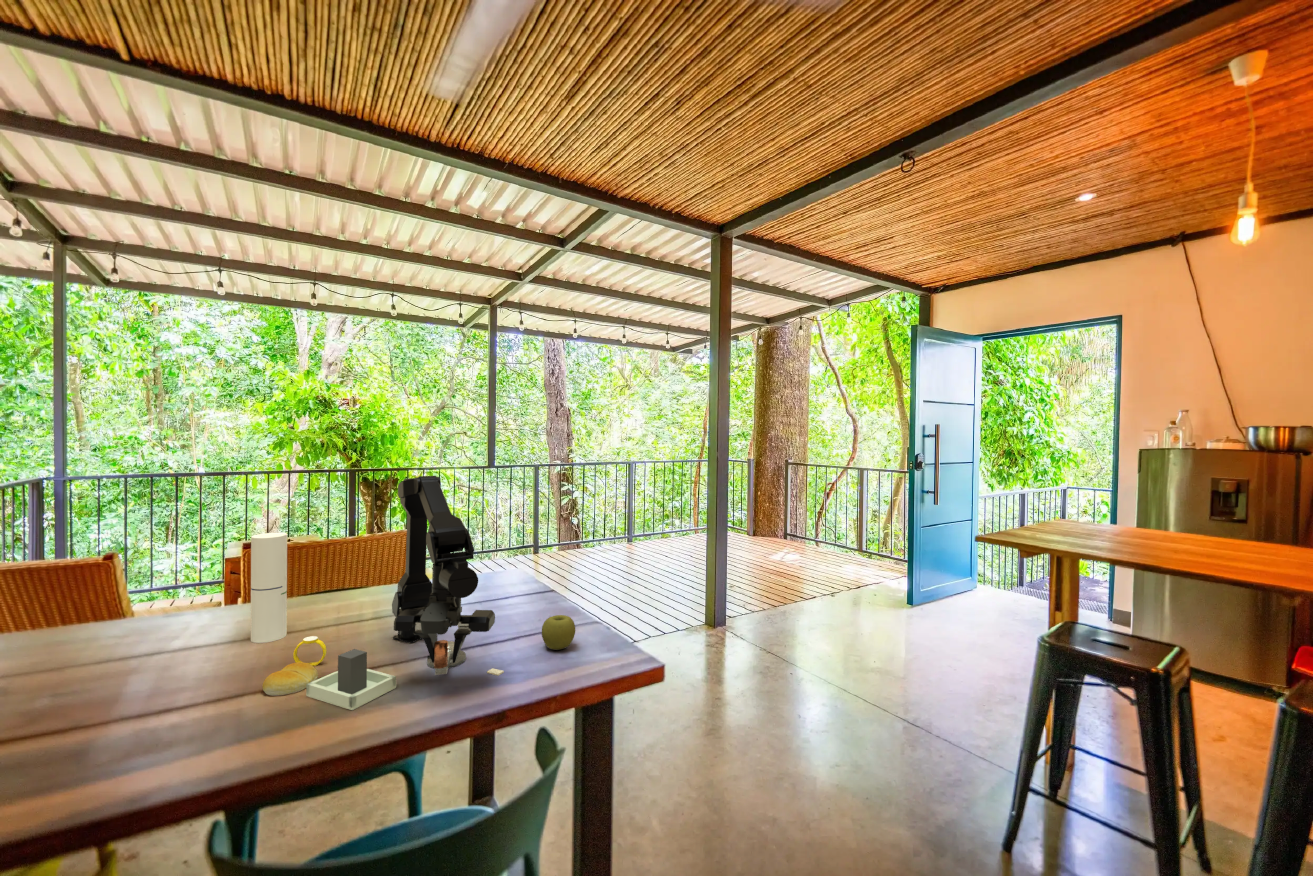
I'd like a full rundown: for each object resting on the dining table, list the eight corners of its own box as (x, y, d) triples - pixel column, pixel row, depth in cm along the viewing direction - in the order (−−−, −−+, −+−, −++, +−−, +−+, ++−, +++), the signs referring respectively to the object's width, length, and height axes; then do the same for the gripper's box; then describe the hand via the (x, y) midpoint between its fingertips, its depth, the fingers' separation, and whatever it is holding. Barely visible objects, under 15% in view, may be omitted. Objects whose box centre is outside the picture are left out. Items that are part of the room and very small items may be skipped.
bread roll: (252, 695, 105) (252, 674, 105) (293, 675, 113) (293, 655, 113) (287, 700, 103) (287, 679, 103) (326, 679, 111) (326, 660, 111)
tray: (352, 710, 99) (352, 697, 99) (306, 696, 104) (306, 684, 104) (396, 687, 108) (396, 676, 108) (352, 675, 113) (352, 664, 113)
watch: (326, 662, 120) (329, 635, 120) (322, 668, 117) (325, 640, 117) (295, 663, 118) (298, 636, 118) (290, 668, 115) (293, 641, 115)
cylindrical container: (243, 640, 131) (244, 536, 130) (274, 630, 137) (274, 531, 137) (263, 645, 128) (263, 539, 128) (293, 634, 135) (293, 534, 134)
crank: (437, 652, 122) (437, 622, 122) (458, 650, 123) (458, 621, 123) (428, 679, 109) (428, 645, 109) (451, 676, 110) (451, 644, 110)
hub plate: (418, 664, 118) (418, 660, 118) (446, 651, 126) (446, 647, 126) (446, 671, 115) (447, 667, 115) (473, 657, 123) (473, 653, 123)
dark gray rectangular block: (337, 691, 105) (338, 655, 105) (354, 683, 108) (354, 648, 108) (350, 695, 104) (350, 658, 103) (366, 687, 107) (366, 652, 107)
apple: (568, 655, 124) (568, 624, 124) (535, 652, 126) (536, 621, 126) (579, 643, 132) (580, 613, 132) (548, 640, 134) (549, 611, 133)
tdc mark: (486, 673, 115) (486, 671, 115) (492, 669, 117) (492, 668, 117) (498, 675, 114) (498, 674, 114) (503, 672, 115) (503, 671, 115)
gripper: (382, 596, 103) (379, 679, 102) (483, 597, 104) (480, 679, 104) (406, 581, 114) (403, 655, 114) (496, 582, 115) (494, 656, 115)
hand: (444, 662), depth 111 cm, fingers open, 4 cm apart
